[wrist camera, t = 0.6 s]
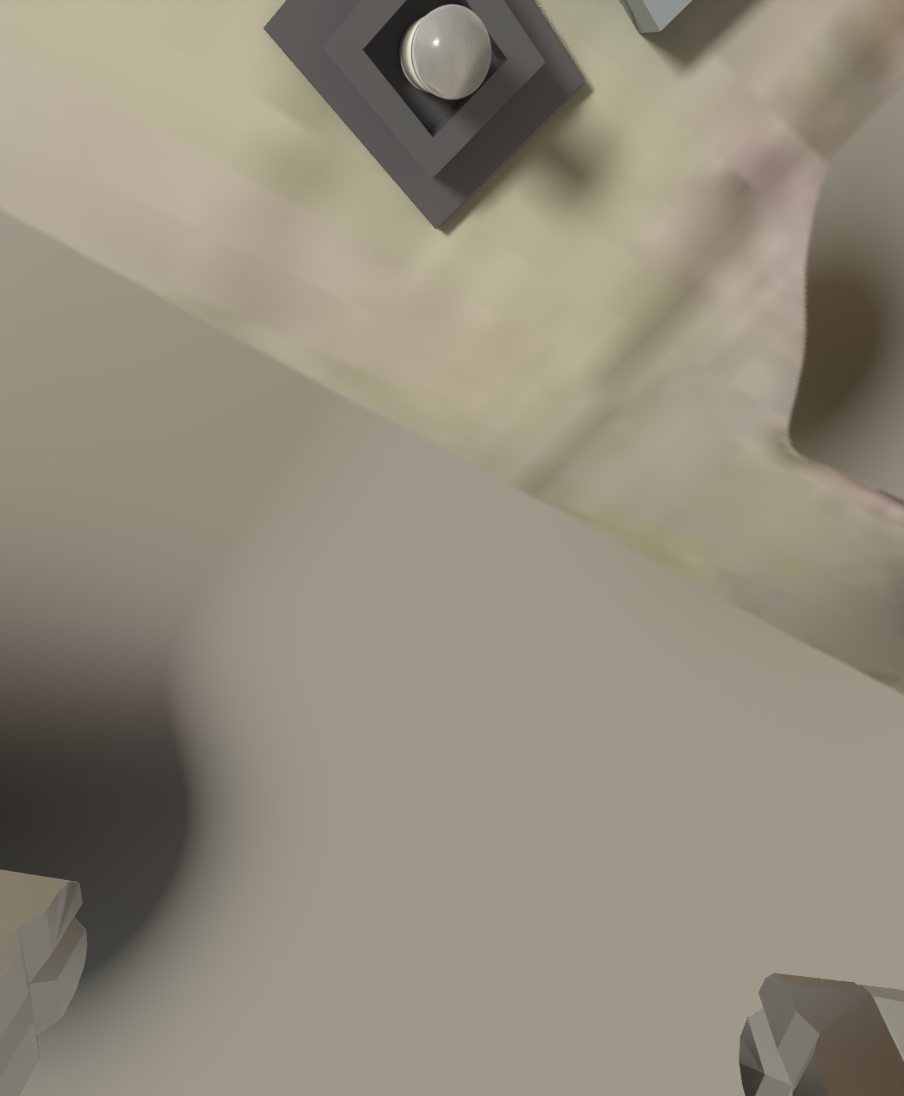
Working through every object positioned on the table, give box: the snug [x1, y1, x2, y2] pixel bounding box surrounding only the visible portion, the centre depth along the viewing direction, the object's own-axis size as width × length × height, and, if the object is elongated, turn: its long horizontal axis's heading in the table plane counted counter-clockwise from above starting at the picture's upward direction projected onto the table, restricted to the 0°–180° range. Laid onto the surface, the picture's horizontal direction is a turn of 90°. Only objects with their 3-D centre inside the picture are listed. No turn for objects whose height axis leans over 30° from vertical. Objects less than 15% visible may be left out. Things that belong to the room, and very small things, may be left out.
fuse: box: [399, 5, 491, 99], centre depth 38 cm, size 4×4×10 cm
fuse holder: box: [264, 0, 585, 229], centre depth 41 cm, size 14×12×4 cm
